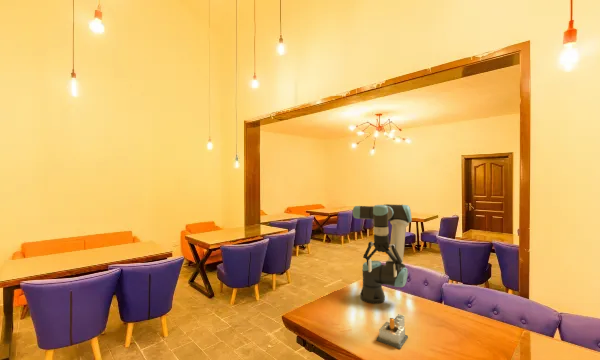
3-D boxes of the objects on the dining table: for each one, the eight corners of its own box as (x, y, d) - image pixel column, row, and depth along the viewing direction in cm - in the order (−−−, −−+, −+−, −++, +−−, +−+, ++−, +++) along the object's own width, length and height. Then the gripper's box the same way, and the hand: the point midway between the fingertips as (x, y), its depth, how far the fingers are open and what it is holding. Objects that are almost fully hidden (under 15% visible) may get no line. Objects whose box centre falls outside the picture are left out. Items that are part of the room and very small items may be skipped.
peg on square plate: (385, 330, 135) (384, 311, 135) (407, 337, 129) (407, 317, 129) (376, 340, 127) (376, 320, 127) (400, 349, 120) (399, 327, 120)
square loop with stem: (392, 322, 141) (392, 312, 141) (410, 327, 136) (410, 317, 136) (379, 338, 127) (379, 327, 127) (398, 345, 121) (398, 333, 121)
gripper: (356, 233, 148) (357, 271, 149) (403, 238, 133) (404, 280, 134) (361, 230, 154) (363, 267, 155) (407, 235, 140) (408, 275, 140)
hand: (382, 273), depth 144 cm, fingers open, 13 cm apart
